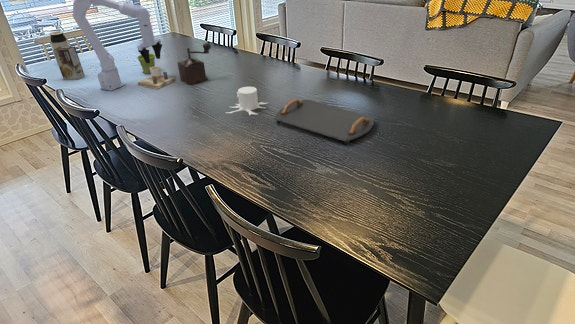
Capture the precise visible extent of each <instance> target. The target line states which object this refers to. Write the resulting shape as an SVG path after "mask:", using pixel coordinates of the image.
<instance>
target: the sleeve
mask: <svg viewBox="0 0 575 324" xmlns="http://www.w3.org/2000/svg"><path fill="white" fill-rule="evenodd" d="M150 72H151V73H150V75H151V76H150V77H152V76H156V79H159V78H162V76H163V73H162V70H161V67H160V66H158V65H155V67H151V68H150Z"/></svg>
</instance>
